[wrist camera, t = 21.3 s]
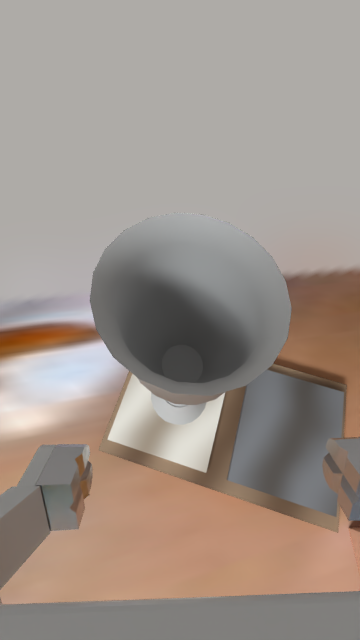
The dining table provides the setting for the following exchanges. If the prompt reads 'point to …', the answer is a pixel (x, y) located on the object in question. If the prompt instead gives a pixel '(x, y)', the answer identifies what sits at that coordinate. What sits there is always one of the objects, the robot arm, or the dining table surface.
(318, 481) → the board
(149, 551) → the dining table surface
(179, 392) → the chalice
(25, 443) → the dining table surface
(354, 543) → the terracotta cube
